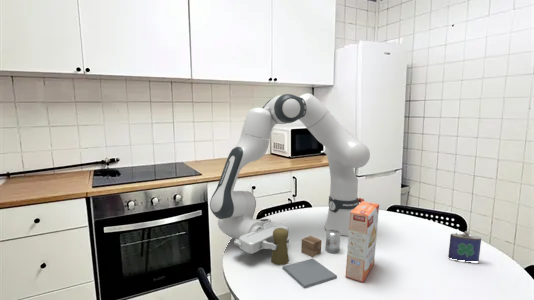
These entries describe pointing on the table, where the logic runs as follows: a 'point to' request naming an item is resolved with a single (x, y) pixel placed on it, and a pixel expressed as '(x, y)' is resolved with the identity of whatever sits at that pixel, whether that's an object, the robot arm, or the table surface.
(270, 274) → the table surface
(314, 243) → the walnut block
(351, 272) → the cracker box
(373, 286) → the table surface
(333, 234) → the grey tin
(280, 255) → the olive pawn piece
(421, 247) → the table surface
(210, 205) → the robot arm
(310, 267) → the coaster
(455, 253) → the flask
